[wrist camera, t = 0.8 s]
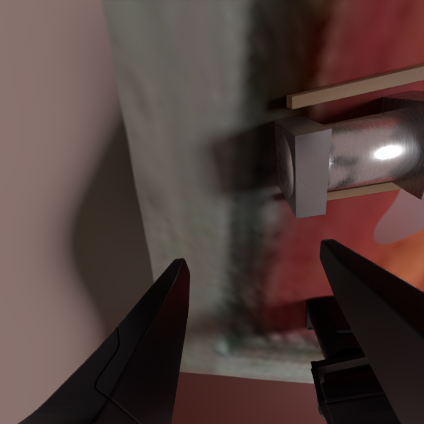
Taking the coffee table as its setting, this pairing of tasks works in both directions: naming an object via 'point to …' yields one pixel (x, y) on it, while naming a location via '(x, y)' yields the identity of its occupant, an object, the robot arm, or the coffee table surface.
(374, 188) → the cradle rails
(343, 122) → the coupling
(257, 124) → the coffee table surface
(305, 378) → the coffee table surface
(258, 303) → the coffee table surface
